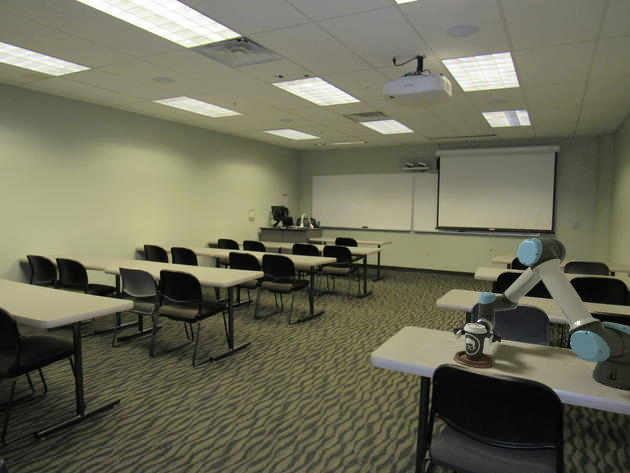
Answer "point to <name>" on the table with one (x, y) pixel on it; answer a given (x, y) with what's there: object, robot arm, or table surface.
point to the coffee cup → (474, 341)
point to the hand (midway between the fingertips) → (473, 339)
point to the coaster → (484, 363)
